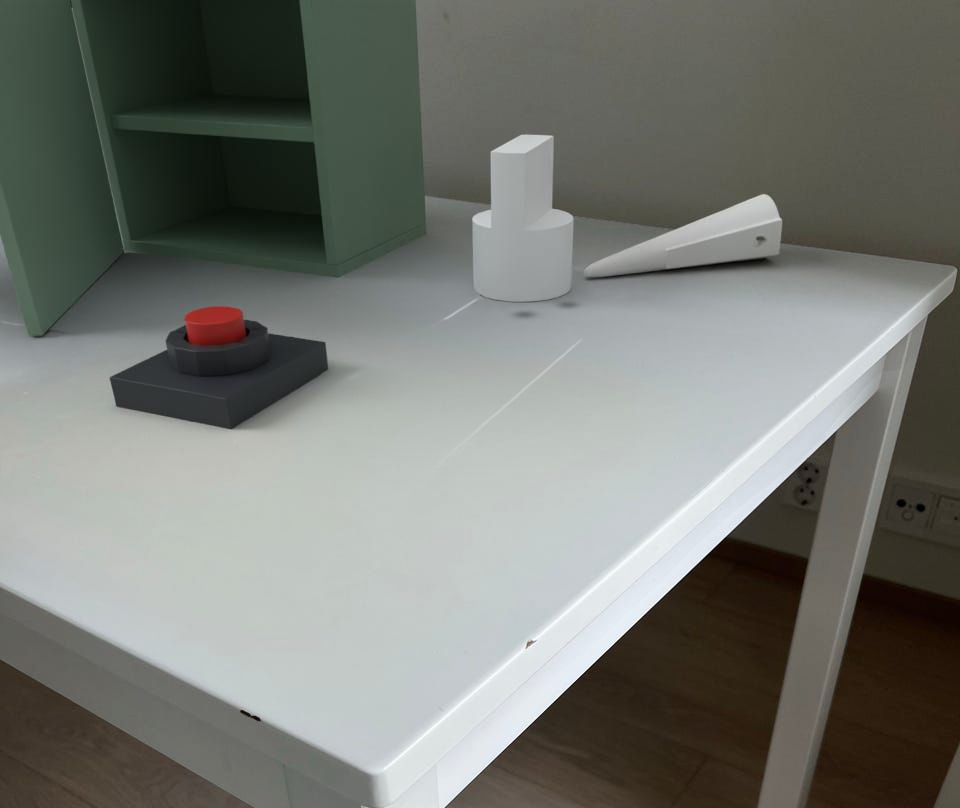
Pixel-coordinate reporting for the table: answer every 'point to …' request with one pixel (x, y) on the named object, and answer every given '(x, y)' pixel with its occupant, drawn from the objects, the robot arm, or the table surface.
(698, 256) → the white tapered wedge
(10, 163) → the door
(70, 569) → the table surface
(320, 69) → the cupboard
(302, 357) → the button box
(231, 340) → the button
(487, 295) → the cylinder with rectangular tab
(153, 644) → the table surface
